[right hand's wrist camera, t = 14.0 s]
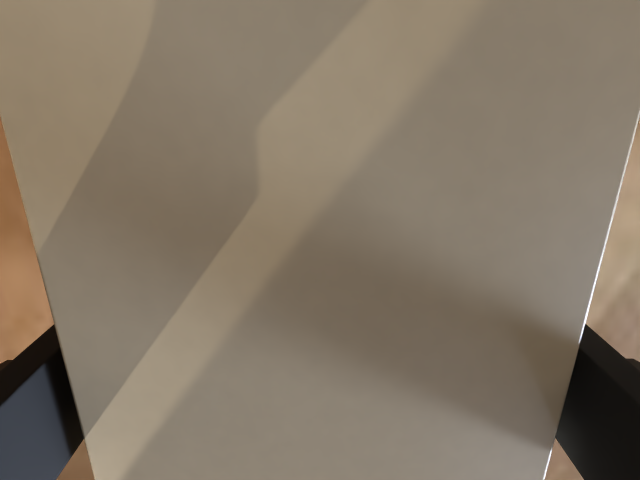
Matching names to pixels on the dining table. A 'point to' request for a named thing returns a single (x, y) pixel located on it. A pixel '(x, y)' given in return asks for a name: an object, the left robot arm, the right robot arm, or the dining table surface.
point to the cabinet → (319, 224)
